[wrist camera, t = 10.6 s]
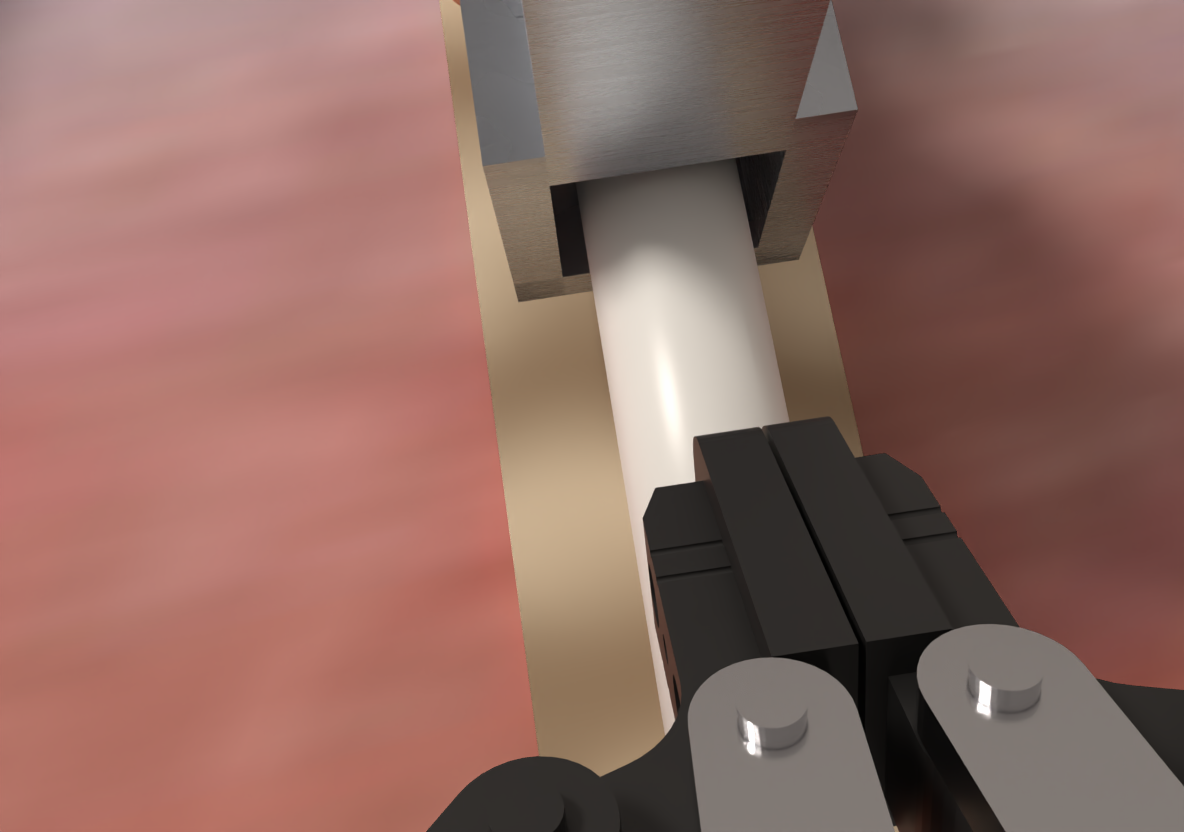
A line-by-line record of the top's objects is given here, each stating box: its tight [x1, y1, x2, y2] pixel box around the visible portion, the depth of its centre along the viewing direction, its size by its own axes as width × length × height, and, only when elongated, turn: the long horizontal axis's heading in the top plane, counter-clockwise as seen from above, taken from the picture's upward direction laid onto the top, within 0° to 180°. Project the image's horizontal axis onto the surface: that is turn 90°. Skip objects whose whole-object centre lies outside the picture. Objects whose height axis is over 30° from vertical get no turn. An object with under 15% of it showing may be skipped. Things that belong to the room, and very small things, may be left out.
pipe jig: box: [576, 158, 789, 735], centre depth 21 cm, size 30×5×8 cm, turn 9°
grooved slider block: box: [460, 0, 858, 302], centre depth 19 cm, size 6×6×10 cm
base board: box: [439, 0, 899, 832], centre depth 25 cm, size 31×8×1 cm, turn 9°
